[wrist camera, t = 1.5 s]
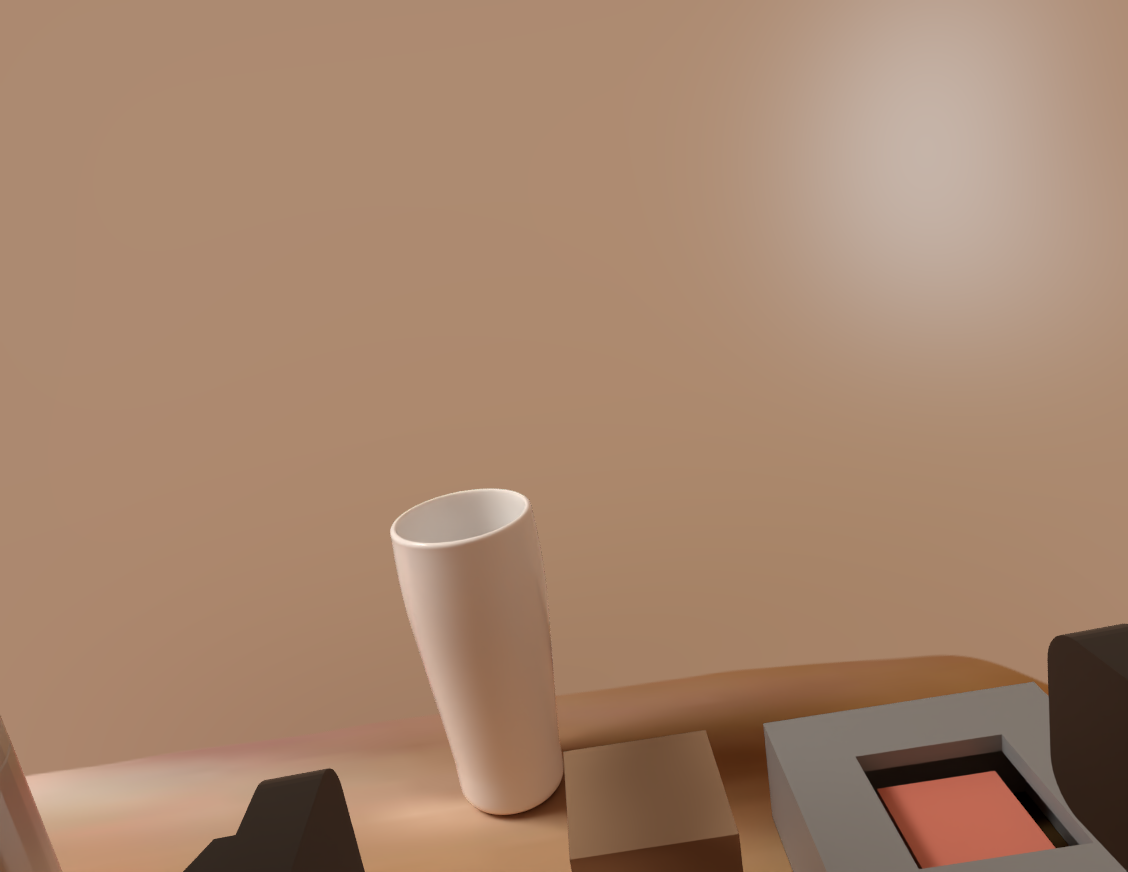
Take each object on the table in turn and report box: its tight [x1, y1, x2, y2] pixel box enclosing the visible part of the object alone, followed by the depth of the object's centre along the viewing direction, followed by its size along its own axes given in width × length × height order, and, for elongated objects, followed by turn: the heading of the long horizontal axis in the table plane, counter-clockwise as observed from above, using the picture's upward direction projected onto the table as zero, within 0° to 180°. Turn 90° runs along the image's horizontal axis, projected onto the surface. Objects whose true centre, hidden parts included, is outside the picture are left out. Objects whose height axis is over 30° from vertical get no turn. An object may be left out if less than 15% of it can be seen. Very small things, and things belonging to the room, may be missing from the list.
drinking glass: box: [390, 489, 564, 815], centre depth 42 cm, size 7×7×15 cm
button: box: [877, 771, 1055, 869], centre depth 33 cm, size 5×5×2 cm
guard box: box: [763, 682, 1127, 872], centre depth 33 cm, size 12×12×5 cm
